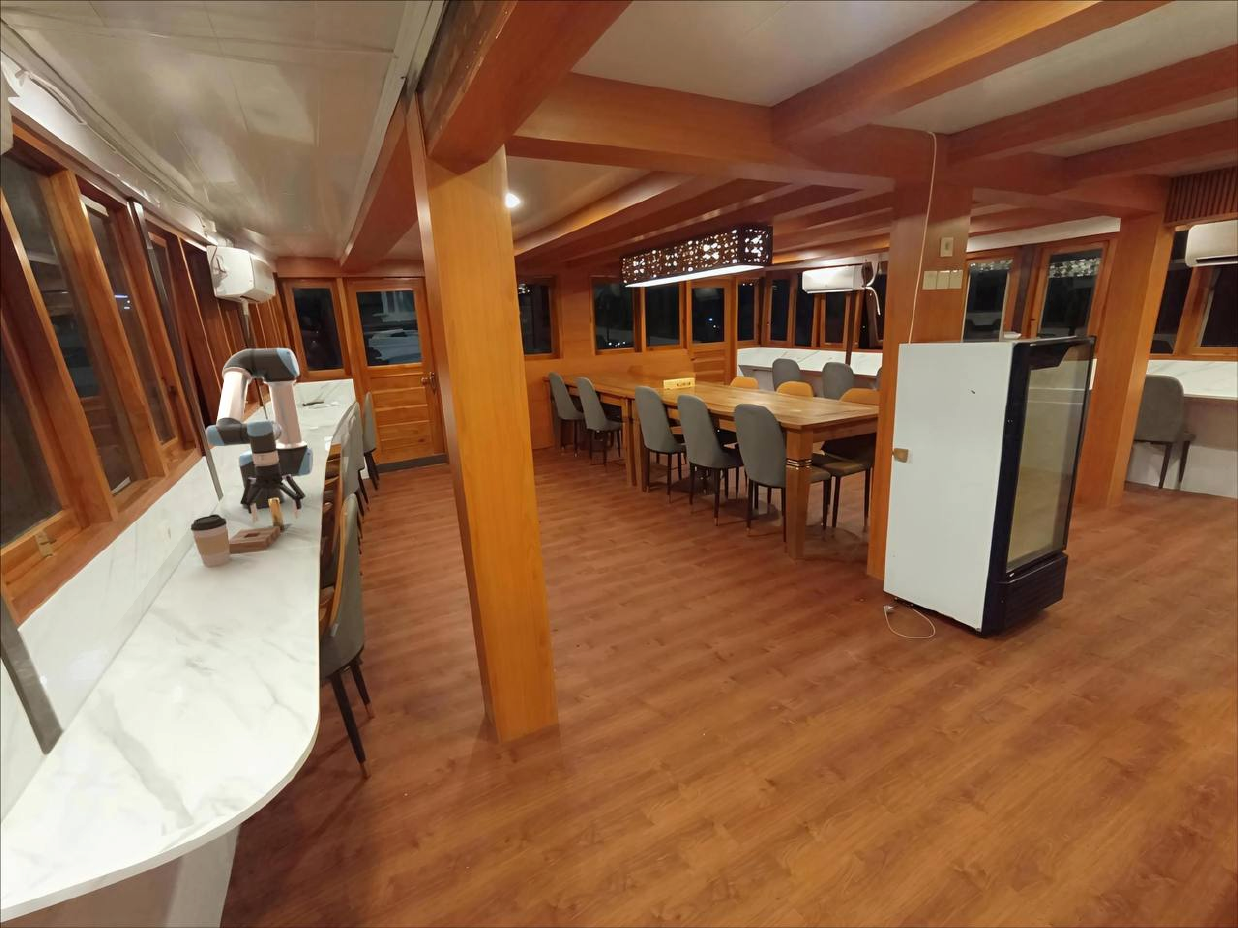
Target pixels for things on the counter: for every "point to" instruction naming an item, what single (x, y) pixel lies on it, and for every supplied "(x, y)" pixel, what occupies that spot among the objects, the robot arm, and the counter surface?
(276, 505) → the peg
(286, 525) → the mat
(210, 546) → the coffee cup
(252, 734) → the counter surface
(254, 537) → the hole block
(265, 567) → the counter surface
